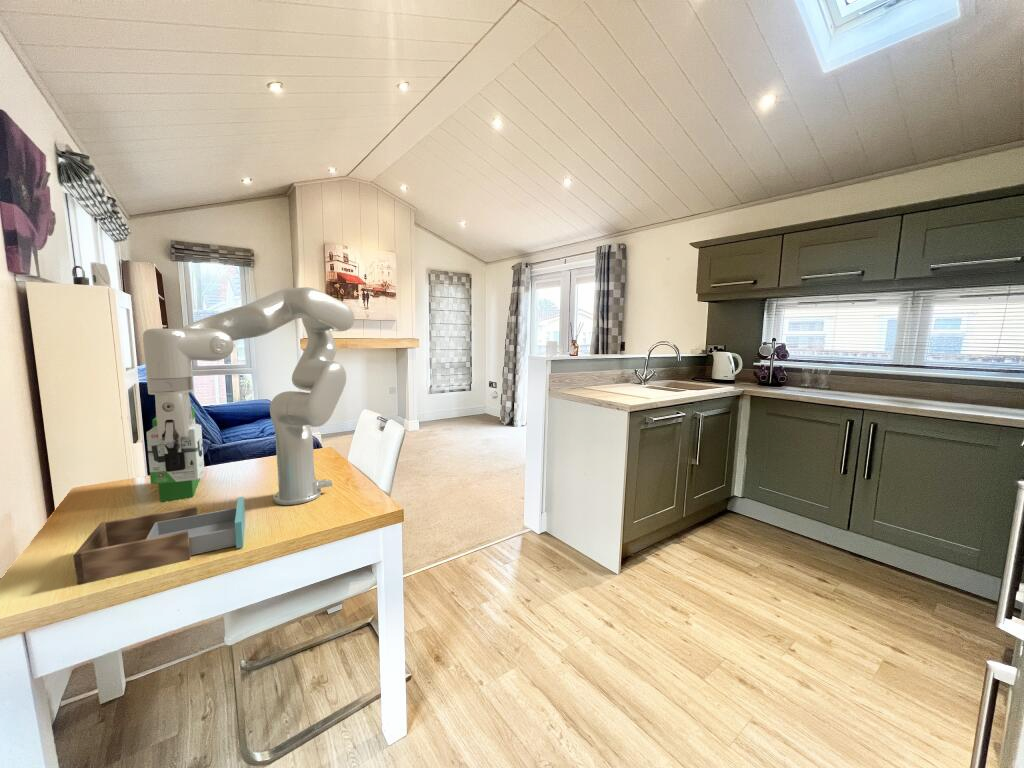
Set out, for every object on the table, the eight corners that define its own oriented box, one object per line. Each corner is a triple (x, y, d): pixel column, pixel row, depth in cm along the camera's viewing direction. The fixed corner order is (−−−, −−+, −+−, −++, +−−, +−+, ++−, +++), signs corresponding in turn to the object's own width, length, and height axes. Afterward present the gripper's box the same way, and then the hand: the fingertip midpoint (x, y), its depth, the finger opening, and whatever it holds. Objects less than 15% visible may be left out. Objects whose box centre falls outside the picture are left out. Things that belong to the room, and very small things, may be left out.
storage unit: (199, 529, 99) (197, 506, 98) (189, 559, 86) (187, 532, 85) (103, 548, 90) (100, 522, 89) (77, 584, 77) (73, 555, 76)
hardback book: (171, 483, 129) (164, 410, 126) (200, 479, 133) (194, 407, 130) (160, 502, 114) (152, 420, 111) (193, 497, 118) (186, 417, 115)
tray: (245, 518, 104) (243, 496, 103) (243, 547, 90) (241, 521, 90) (158, 535, 95) (155, 511, 94) (141, 569, 81) (138, 541, 81)
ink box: (149, 485, 86) (143, 431, 84) (158, 477, 90) (153, 426, 89) (199, 479, 89) (194, 427, 88) (206, 472, 93) (201, 422, 92)
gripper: (186, 389, 82) (194, 474, 84) (197, 380, 96) (204, 454, 98) (137, 391, 78) (146, 481, 80) (156, 382, 92) (164, 458, 94)
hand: (178, 465), depth 89 cm, fingers closed on ink box, 5 cm apart
